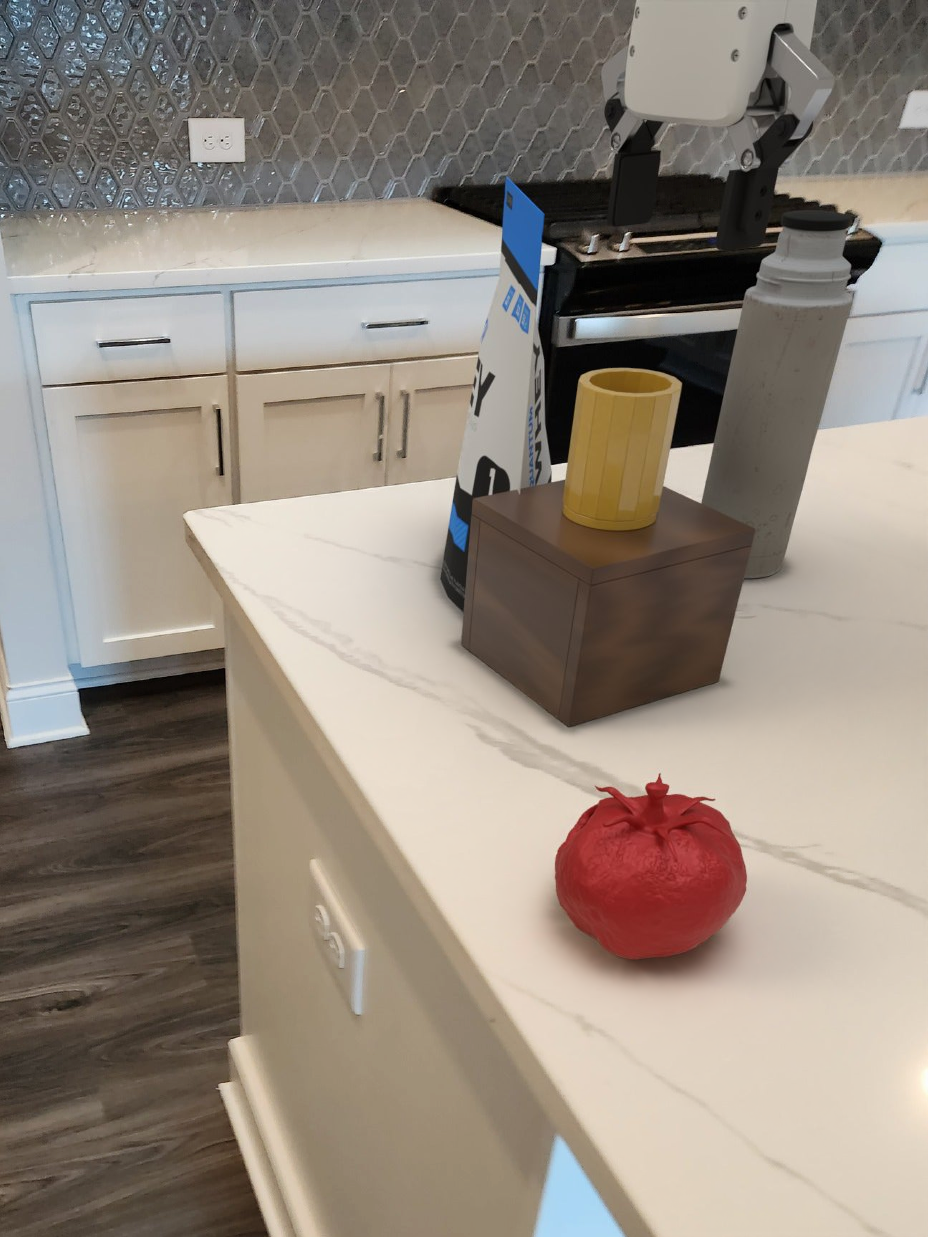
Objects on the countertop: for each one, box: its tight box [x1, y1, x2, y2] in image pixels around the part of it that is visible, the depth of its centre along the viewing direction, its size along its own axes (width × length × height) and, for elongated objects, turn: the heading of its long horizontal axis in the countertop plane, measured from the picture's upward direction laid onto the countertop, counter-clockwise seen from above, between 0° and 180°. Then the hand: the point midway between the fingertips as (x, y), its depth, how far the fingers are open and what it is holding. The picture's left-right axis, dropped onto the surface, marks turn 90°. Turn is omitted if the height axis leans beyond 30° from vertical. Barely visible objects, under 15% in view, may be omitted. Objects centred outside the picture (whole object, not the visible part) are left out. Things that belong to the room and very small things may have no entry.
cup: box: [562, 367, 683, 531], centre depth 75 cm, size 7×7×9 cm
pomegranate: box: [554, 772, 748, 960], centre depth 59 cm, size 10×10×9 cm
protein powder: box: [439, 176, 553, 614], centre depth 89 cm, size 10×24×30 cm, turn 177°
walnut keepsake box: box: [460, 479, 756, 727], centre depth 82 cm, size 14×14×12 cm
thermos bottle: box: [700, 209, 853, 579], centre depth 92 cm, size 8×8×28 cm
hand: (680, 235), depth 67 cm, fingers open, 9 cm apart
